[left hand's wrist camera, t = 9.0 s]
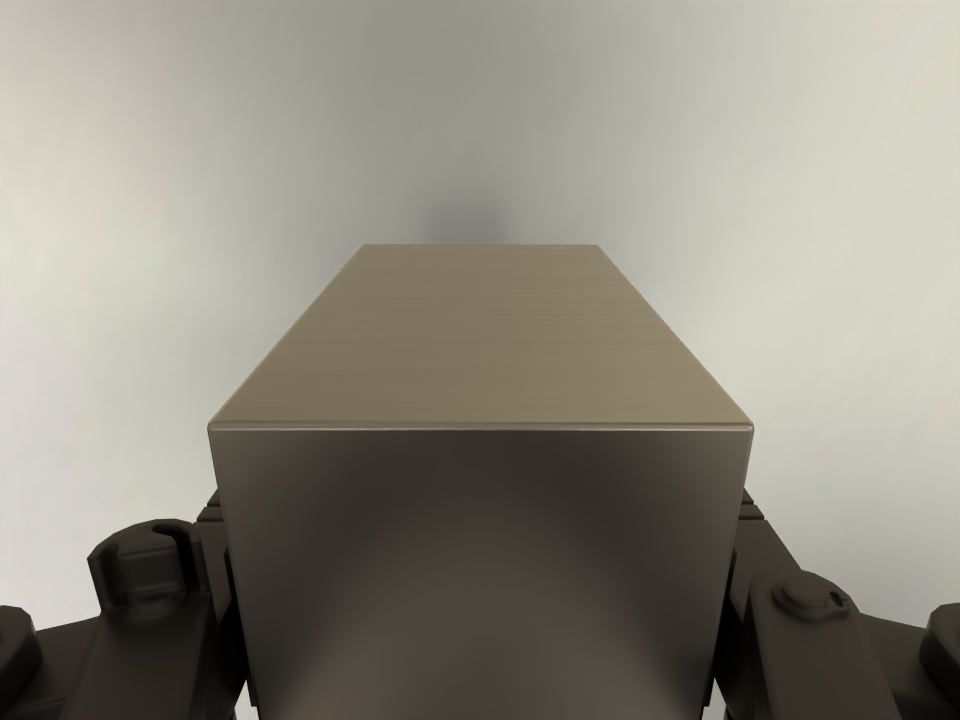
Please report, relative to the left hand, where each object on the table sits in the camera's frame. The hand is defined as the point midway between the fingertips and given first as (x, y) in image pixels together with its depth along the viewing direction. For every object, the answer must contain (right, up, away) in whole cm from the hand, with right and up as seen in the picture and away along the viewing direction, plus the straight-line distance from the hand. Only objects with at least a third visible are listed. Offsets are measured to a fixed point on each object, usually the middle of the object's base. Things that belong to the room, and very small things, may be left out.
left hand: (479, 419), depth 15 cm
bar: (0, -8, +4) cm, 9 cm away
